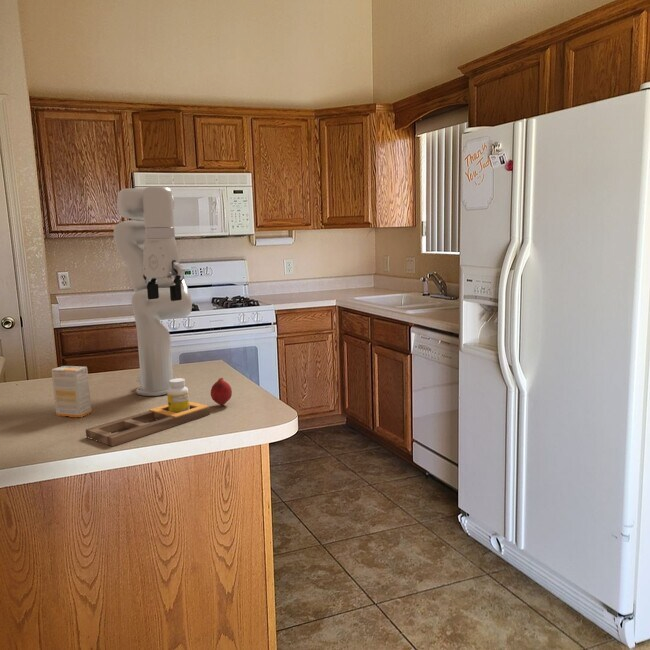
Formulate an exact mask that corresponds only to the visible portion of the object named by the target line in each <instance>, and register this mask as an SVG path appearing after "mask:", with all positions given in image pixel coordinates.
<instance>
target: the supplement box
mask: <svg viewBox="0 0 650 650" xmlns="http://www.w3.org/2000/svg"><path fill="white" fill-rule="evenodd" d="M51 378H52V385H53V386H52V387H53V395H54V404H55V413H56V415H55V416H57V415H61V416H60V417H65V416H69V418H77V417H81V418H83V416H84V417H86V416H88V415H90V414H89V413H91V414H92V402H91V392H90V382H89V372H88V367H87V366H75V365H61V366H59V367H54V368H52V369H51ZM87 414H88V415H87ZM85 415H86V416H85Z"/></svg>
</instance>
